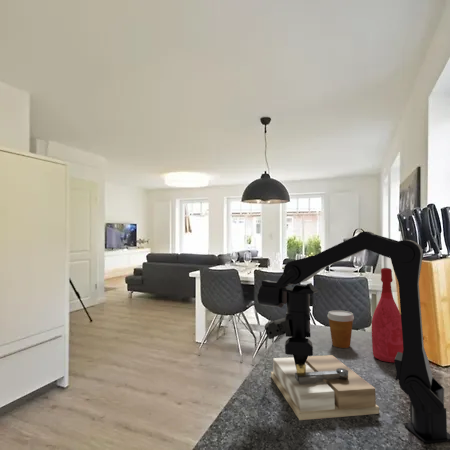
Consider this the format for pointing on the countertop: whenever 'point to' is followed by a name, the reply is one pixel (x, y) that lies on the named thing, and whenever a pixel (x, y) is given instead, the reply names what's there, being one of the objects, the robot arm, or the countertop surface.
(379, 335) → the wine bottle
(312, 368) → the door and jamb
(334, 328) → the disposable coffee cup
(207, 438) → the countertop surface
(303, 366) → the latch bar
